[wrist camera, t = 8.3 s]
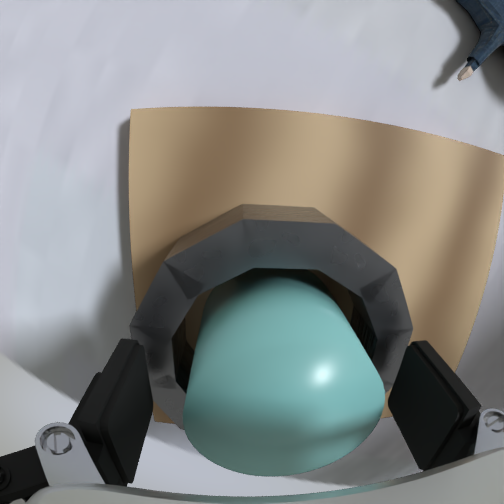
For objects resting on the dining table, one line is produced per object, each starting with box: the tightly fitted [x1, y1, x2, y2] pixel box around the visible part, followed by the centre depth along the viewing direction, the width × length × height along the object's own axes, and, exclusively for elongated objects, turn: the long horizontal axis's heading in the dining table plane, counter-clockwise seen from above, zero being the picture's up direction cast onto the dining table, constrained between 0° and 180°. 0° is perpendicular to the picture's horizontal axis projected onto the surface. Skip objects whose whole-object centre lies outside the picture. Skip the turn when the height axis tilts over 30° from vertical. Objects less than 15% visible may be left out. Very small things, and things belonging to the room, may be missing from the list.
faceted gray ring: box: [130, 204, 413, 430], centre depth 12 cm, size 10×10×3 cm
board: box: [129, 107, 504, 424], centre depth 14 cm, size 18×16×1 cm
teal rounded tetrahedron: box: [183, 268, 385, 476], centre depth 11 cm, size 6×6×6 cm
